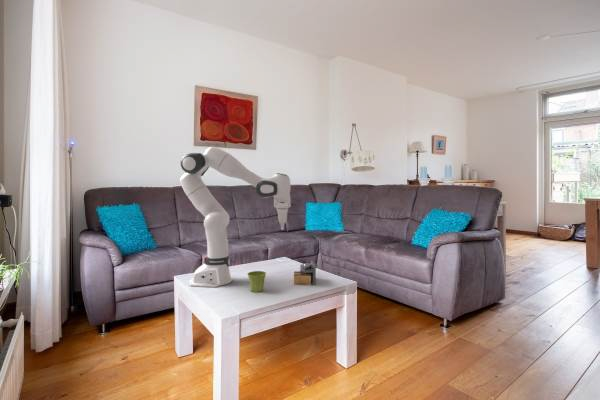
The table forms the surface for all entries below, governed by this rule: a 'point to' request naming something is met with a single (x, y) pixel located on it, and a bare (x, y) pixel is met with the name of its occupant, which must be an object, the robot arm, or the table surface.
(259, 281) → the plant pot
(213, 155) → the robot arm
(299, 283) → the block
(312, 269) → the bracket
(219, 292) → the table surface
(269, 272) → the table surface
